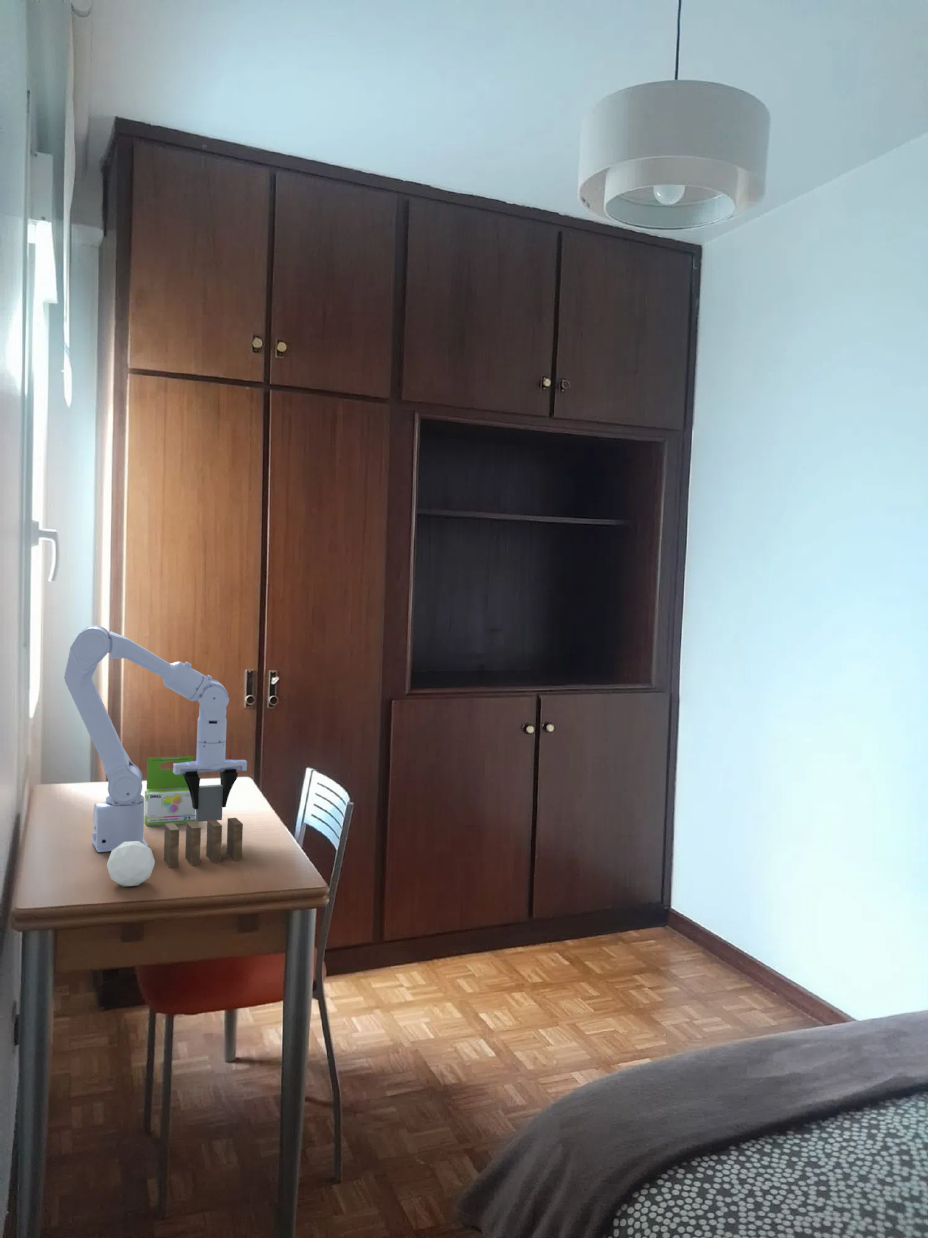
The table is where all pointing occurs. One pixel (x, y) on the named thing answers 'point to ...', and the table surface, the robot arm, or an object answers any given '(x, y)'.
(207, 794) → the domino
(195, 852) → the domino
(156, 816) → the ink box
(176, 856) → the domino
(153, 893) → the table surface
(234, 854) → the domino
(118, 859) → the geometric ball
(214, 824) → the domino
